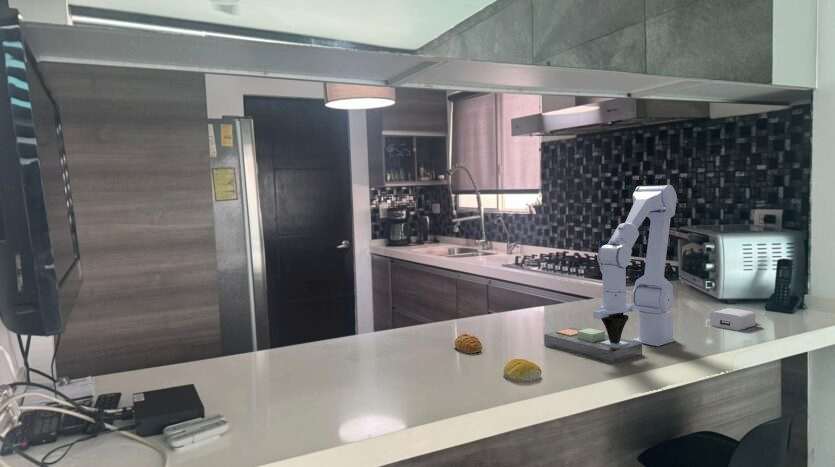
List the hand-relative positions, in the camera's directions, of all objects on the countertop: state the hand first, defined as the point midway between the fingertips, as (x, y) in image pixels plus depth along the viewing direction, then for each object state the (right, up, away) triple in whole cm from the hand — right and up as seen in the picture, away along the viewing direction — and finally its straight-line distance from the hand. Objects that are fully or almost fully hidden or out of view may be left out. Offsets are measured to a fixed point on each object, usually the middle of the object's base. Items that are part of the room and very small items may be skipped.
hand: (614, 342), depth 145 cm
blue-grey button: (0, -3, 0) cm, 3 cm away
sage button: (-4, -1, +6) cm, 8 cm away
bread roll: (-27, -6, -14) cm, 31 cm away
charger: (+49, -1, +29) cm, 56 cm away
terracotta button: (-8, -3, +13) cm, 15 cm away
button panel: (-4, -3, +6) cm, 8 cm away
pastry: (-37, -4, +11) cm, 39 cm away
